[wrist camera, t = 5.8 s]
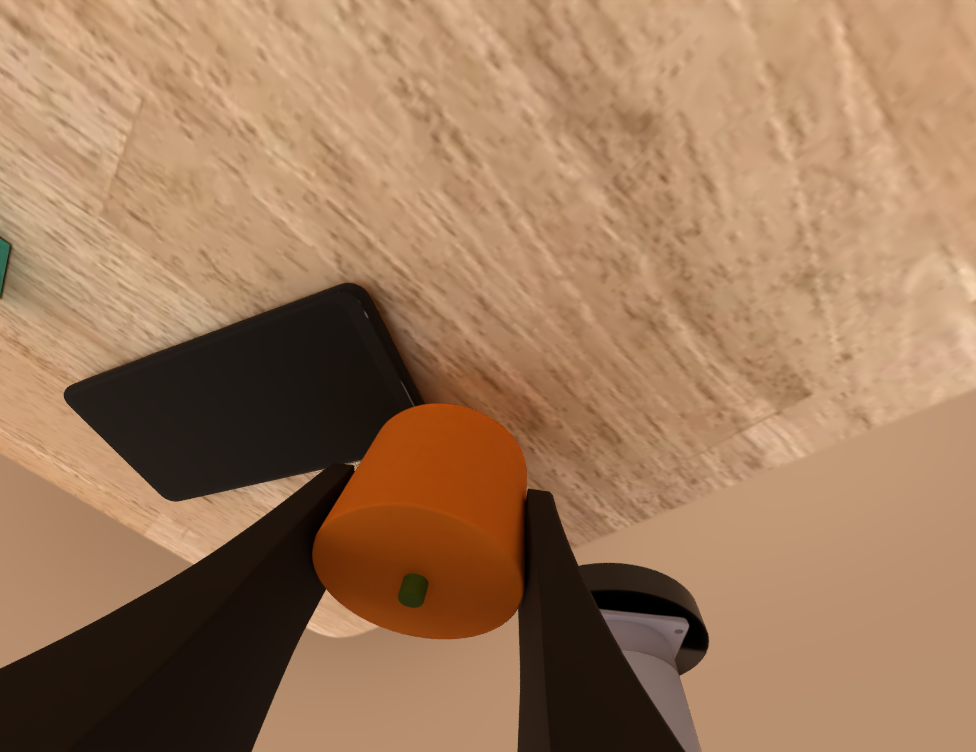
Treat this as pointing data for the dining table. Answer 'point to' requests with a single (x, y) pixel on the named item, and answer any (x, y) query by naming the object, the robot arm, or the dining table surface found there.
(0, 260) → the chart
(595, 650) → the robot arm
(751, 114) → the dining table surface
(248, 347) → the smartphone
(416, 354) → the dining table surface
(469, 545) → the mandarin
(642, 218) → the dining table surface
